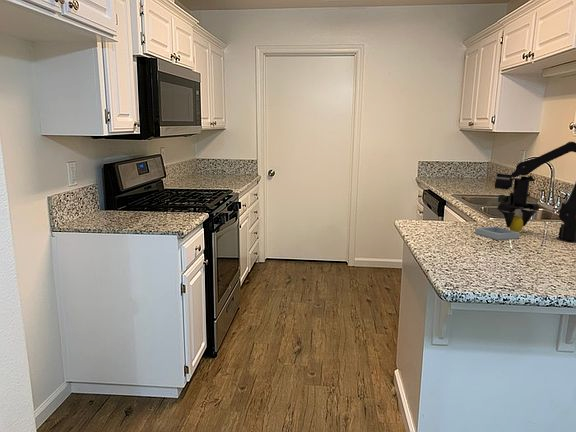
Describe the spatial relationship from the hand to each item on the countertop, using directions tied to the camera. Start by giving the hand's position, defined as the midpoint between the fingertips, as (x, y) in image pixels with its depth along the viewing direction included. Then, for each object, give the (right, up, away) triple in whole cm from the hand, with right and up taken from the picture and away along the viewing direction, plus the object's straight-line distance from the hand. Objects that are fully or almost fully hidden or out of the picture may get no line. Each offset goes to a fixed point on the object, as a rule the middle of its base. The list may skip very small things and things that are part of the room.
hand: (515, 226), depth 194 cm
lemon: (0, -3, +1) cm, 3 cm away
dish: (-11, -4, -6) cm, 13 cm away
